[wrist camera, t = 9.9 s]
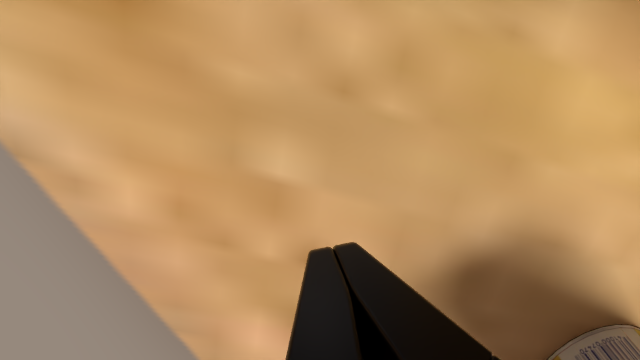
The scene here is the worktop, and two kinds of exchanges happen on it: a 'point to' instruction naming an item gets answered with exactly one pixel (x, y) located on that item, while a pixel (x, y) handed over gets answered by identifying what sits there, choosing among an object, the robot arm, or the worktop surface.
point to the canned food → (603, 345)
